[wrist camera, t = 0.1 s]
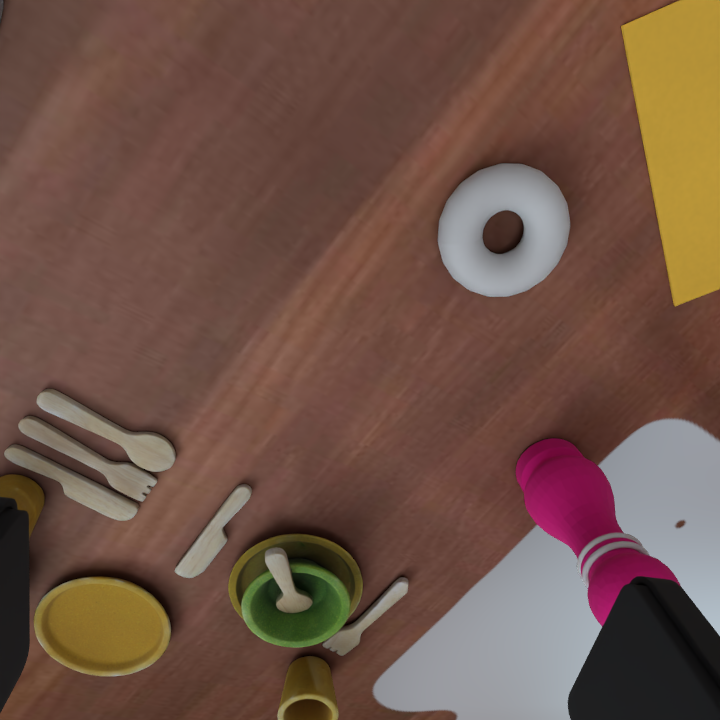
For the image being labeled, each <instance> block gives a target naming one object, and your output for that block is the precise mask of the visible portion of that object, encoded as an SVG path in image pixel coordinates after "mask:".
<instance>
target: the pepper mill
mask: <svg viewBox="0 0 720 720" xmlns="http://www.w3.org/2000/svg"><path fill="white" fill-rule="evenodd" d="M516 478H517V481H518V483H519V485H520V487H521V488H522V490H523V492H524V501H525V505H526V508H527V511H528V512H529V514H530V515H531V517H532V518H533V520H534V521H535V522H536V524H537V525H538V526H540V527H541V528H542V529H543V530H544V531H545V532H547V533H548V534H550V535H551V536H553V537H554V538H557V539H558V540H560V541H562V542H563V543H565V544H567V545H568V546H569V547H570V548H571V549H572V550H573V552H574V553H575V555H576V556H577V558H578V561H577V571H578V574H579V576H580V577H581V578H582V579H583V582H584V584H585V586H586V587H587V589H588V599H589V606H590V608H591V610H592V613H593V614H594V616H595V617H596V619H597V621H598V622H599V623H600V624H601V625H602V627H603V625H604V623H605V621H606V619H607V617H608V615H609V613H610V611H611V609H612V607H613V605H614V603H615V601H616V599H617V597H618V595H619V592H620V590H621V589H622V587H623V586H624V585H626V584H629V583H630V582H631V580H632V579H633V578H635V577H637V576H645V577H653V578H661V579H669V580H672V581H675V582H677V583H678V584H679V582H678V580H677V578H676V577H675V575H674V574H673V573H672V571H671V570H670V569H669V568H668V567H667V566H666V565H665V564H663V563H662V562H661V561H659V560H658V559H656V558H653V557H651V556H649V554H648V552H647V551H646V550H645V549H644V548H643V546H642V544H641V543H640V541H639V540H638V539H636V538H635V537H633V536H631V535H629V534H625V533H623V531H622V530H621V528H620V527H619V525H618V523H617V520H616V516H615V504H614V496H613V493H612V489H611V486H610V483H609V482H608V480H607V478H606V476H605V475H604V473H603V472H602V470H601V469H600V468H599V467H598V466H597V465H596V464H595V463H594V462H592V461H590V460H588V459H586V458H584V457H583V455H582V454H581V453H580V451H579V450H578V449H577V448H576V447H575V446H574V445H573V444H572V443H570V442H568V441H566V440H563V439H555V438H552V439H545V440H542V441H539V442H537V443H535V444H533V445H532V446H530V447H529V448H528V449H527V450H526V451H525V452H523V453H522V455H521V457H520V458H519V460H518V462H517V465H516ZM679 585H680V584H679Z"/></svg>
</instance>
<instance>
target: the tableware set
mask: <svg viewBox="0 0 720 720" xmlns="http://www.w3.org/2000/svg"><path fill="white" fill-rule="evenodd" d="M37 404H38V405H39V407H40V408H42V409H43V410H45V411H47V412H49V413H51V414H53V415H56V416H58V417H60V418H62V419H65V420H67V421H69V422H71V423H73V424H76V425H78V426H80V427H82V428H84V429H87V430H89V431H91V432H94V433H96V434H98V435H100V436H103V437H105V438H107V439H109V440H111V441H113V442H115V443H117V444H119V445H121V446H122V447H123V448H124V449H125V450H126V452H127V454H128V456H129V458H130V459H131V460H132V461H133V462H134V463H135V464H136V465H138V466H139V467H138V466H136V465H134V464H133V463H129V462H114V461H110V460H108V459H106V458H104V457H103V456H101V455H99V454H98V453H96V452H94V451H93V450H91V449H89V448H88V447H86V446H84V445H83V444H81V443H79V442H78V441H76V440H74V439H73V438H71V437H70V436H68V435H66V434H65V433H63V432H61V431H60V430H58V429H57V428H55V427H53V426H51V425H50V424H48V423H46V422H44V421H42V420H41V419H39V418H37V417H34V416H27V417H25V418H23V419H22V420H21V421H20V422H19V429H20V431H21V432H22V433H23V434H25V435H27V436H29V437H31V438H33V439H35V440H37V441H39V442H41V443H43V444H45V445H47V446H49V447H51V448H53V449H55V450H57V451H60V452H62V453H64V454H66V455H68V456H70V457H72V458H74V459H76V460H78V461H80V462H82V463H84V464H86V465H88V466H90V467H92V468H94V469H96V470H98V471H100V472H101V473H103V474H104V475H105V477H106V478H107V480H108V482H109V484H110V485H111V486H112V487H113V488H114V489H116V490H118V491H120V492H122V493H124V494H126V495H128V496H130V497H132V498H134V499H136V500H139V501H144V499H145V498H146V495H145V494H144V493H143V492H145V493H147V494H148V493H149V492H150V491H151V488H150V487H149V486H152V487H154V485H155V484H156V483H157V479H156V478H155V477H153V476H152V475H151V474H149V473H148V472H146V471H144V470H143V469H146V470H148V471H154V472H159V471H164V470H167V469H169V468H170V467H171V466H172V465H173V463H174V462H175V459H176V453H175V450H174V447H173V446H172V444H171V443H170V442H169V441H168V440H167V439H166V438H165V437H163V436H161V435H159V434H157V433H153V432H131V431H128V430H126V429H124V428H122V427H120V426H118V425H116V424H115V423H113V422H111V421H109V420H108V419H106V418H104V417H102V416H101V415H99V414H97V413H95V412H94V411H92V410H90V409H89V408H87V407H85V406H83V405H82V404H80V403H78V402H76V401H75V400H73V399H71V398H69V397H68V396H66V395H64V394H62V393H60V392H58V391H56V390H54V389H45V390H43V391H42V392H41V393H40V394H39V395H38V397H37ZM4 455H5V457H6V458H7V459H8V460H10V461H11V462H13V463H15V464H17V465H19V466H22V467H24V468H27V469H29V470H31V471H34V472H36V473H39V474H41V475H44V476H46V477H49V478H52V479H54V480H56V481H58V482H60V483H61V484H62V486H63V490H64V494H65V495H66V496H67V497H69V498H71V499H73V500H75V501H77V502H79V503H81V504H83V505H85V506H87V507H89V508H91V509H93V510H95V511H97V512H99V513H101V514H103V515H106V516H108V517H110V518H112V519H115V520H121V521H125V520H129V519H131V518H133V517H134V516H135V514H136V513H137V511H138V508H139V505H138V504H137V503H136V502H134V501H132V500H130V499H128V498H126V497H124V496H122V495H120V494H118V493H116V492H114V491H112V490H110V489H108V488H106V487H104V486H102V485H100V484H98V483H96V482H94V481H92V480H90V479H88V478H86V477H84V476H82V475H80V474H78V473H76V472H74V471H72V470H70V469H68V468H66V467H64V466H62V465H60V464H58V463H56V462H54V461H52V460H50V459H48V458H46V457H44V456H42V455H40V454H38V453H36V452H34V451H31V450H29V449H27V448H25V447H23V446H21V445H17V444H15V445H11V446H9V447H8V448H7V449H6V451H5V453H4ZM140 467H141V468H143V469H141V468H140ZM148 485H149V486H148ZM251 493H252V489H251V487H250V486H249V485H246V484H242V485H239V486H237V487H236V488H235V489H234V491H233V492H232V493H231V494H230V496H229V497H228V498H227V499H226V501H225V502H224V503H223V505H222V506H221V507H220V509H219V510H218V511H217V512H216V514H215V515H214V516H213V518H212V519H211V520H210V522H209V523H208V524H207V526H206V527H205V528H204V530H203V531H202V532H201V534H200V535H199V536H198V538H197V539H196V540H195V542H194V543H193V544H192V545H191V547H190V548H189V549H188V551H187V552H186V553H185V555H184V556H183V557H182V559H181V560H180V561H179V563H178V564H177V565H176V568H175V572H176V574H178V575H180V576H182V577H186V578H193V577H195V576H197V575H199V574H200V573H202V572H203V571H204V570H205V569H206V568H207V566H208V565H209V564H210V563H211V561H212V560H213V559H214V558H215V556H216V555H217V554H218V552H219V551H220V550H221V548H222V547H223V546H224V545H225V544H226V542H227V536H226V534H225V531H224V529H223V527H224V526H225V525H226V524H227V522H228V521H229V520H230V519H231V518H232V517H233V516H234V515H235V514H236V513H237V512H238V511H239V510H240V509H241V507H242V506H243V505H244V504H245V503H246V502H247V501H248V499H249V498H250V496H251ZM0 497H7V498H13V499H15V500H16V502H17V507H18V510H25V511H27V512H28V514H29V538H30V536H31V533H32V531H33V529H34V527H35V524H36V522H37V520H38V517H39V515H40V513H41V511H42V508H43V506H44V493H43V490H42V489H41V487H40V486H39V485H38V484H37V483H36V482H35V481H33V480H31V479H30V478H28V477H25V476H22V475H15V474H10V475H4V476H2V477H0ZM228 588H229V595H230V599H231V602H232V604H233V606H234V608H235V610H236V611H237V613H238V614H239V615H240V616H241V617H242V618H243V619H244V620H245V622H246V624H247V626H248V627H249V628H250V630H251V631H252V632H253V633H254V634H256V635H257V636H258V637H260V638H261V639H263V640H265V641H267V642H270V643H272V644H275V645H279V646H285V647H306V646H311V645H315V644H318V643H321V642H323V641H324V642H323V644H322V646H323V647H325V648H329V647H330V650H331V651H333V652H334V651H336V650H337V651H336V653H337V654H339V655H340V656H343V655H345V654H346V653H348V652H349V651H350V650H352V649H353V648H354V647H355V646H357V645H358V644H359V642H360V636H361V633H362V632H363V630H365V629H366V628H367V627H368V626H369V625H370V624H371V623H373V622H374V621H375V620H376V619H377V618H379V617H380V616H381V615H382V614H383V613H384V612H385V611H386V610H388V609H389V608H390V607H391V606H392V605H393V604H395V603H396V602H397V601H398V600H399V599H400V598H401V597H403V596H404V595H405V594H406V593H407V591H408V579H407V578H404V577H402V578H399V579H397V580H396V581H395V582H394V583H393V584H392V585H391V586H390V587H389V589H387V590H386V591H385V592H384V593H383V594H382V596H381V597H380V598H379V599H378V600H377V601H376V602H375V603H374V604H373V605H372V606H371V607H370V608H369V609H368V610H367V611H366V612H365V613H364V614H363V615H362V616H361V617H360V618H359V619H358V620H357V621H356V622H354V623H352V624H350V625H347V626H343V625H344V624H345V622H346V621H347V619H348V618H349V617H350V616H351V614H352V613H353V612H354V611H355V609H356V607H357V606H358V604H359V602H360V599H361V595H362V589H363V580H362V575H361V572H360V569H359V567H358V565H357V563H356V561H355V560H354V559H353V558H352V556H351V555H350V554H349V553H348V552H347V551H345V550H344V549H343V548H342V547H340V546H339V545H337V544H336V543H334V542H332V541H330V540H328V539H325V538H321V537H318V536H314V535H308V534H284V535H279V536H275V537H272V538H269V539H267V540H264V541H262V542H260V543H258V544H256V545H255V546H253V547H252V548H250V549H249V550H248V551H246V552H245V553H244V554H243V555H242V556H241V557H240V559H239V560H238V561H237V562H236V564H235V566H234V567H233V569H232V572H231V575H230V578H229V585H228ZM34 629H35V633H36V636H37V638H38V641H39V642H40V644H41V646H42V647H43V648H44V649H45V651H46V652H47V653H48V654H49V655H50V656H51V657H52V658H54V659H55V660H57V661H58V662H60V663H61V664H63V665H65V666H67V667H69V668H71V669H73V670H76V671H79V672H82V673H86V674H90V675H97V676H120V675H127V674H131V673H134V672H137V671H139V670H142V669H144V668H146V667H148V666H150V665H151V664H153V663H154V662H155V661H156V660H158V659H159V658H160V657H161V656H162V654H163V653H164V652H165V650H166V648H167V646H168V644H169V642H170V637H171V625H170V620H169V617H168V615H167V613H166V611H165V609H164V608H163V606H162V605H161V604H160V602H159V601H158V600H157V599H156V598H155V597H154V596H153V595H152V594H150V593H149V592H147V591H146V590H145V589H143V588H142V587H140V586H138V585H136V584H134V583H132V582H129V581H126V580H123V579H119V578H113V577H101V576H96V577H84V578H78V579H75V580H72V581H69V582H66V583H63V584H61V585H59V586H57V587H55V588H54V589H52V590H51V591H50V592H48V593H47V594H46V595H45V596H44V597H43V598H42V600H41V601H40V603H39V604H38V606H37V609H36V611H35V615H34ZM338 715H339V713H338V707H337V702H336V696H335V691H334V686H333V681H332V676H331V671H330V668H329V665H328V664H327V663H326V662H325V661H324V660H323V659H321V658H318V657H314V656H306V657H301V658H299V659H297V660H295V661H294V662H292V664H291V665H290V666H289V668H288V671H287V675H286V680H285V684H284V689H283V693H282V697H281V702H280V706H279V710H278V720H337V719H338Z"/></svg>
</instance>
